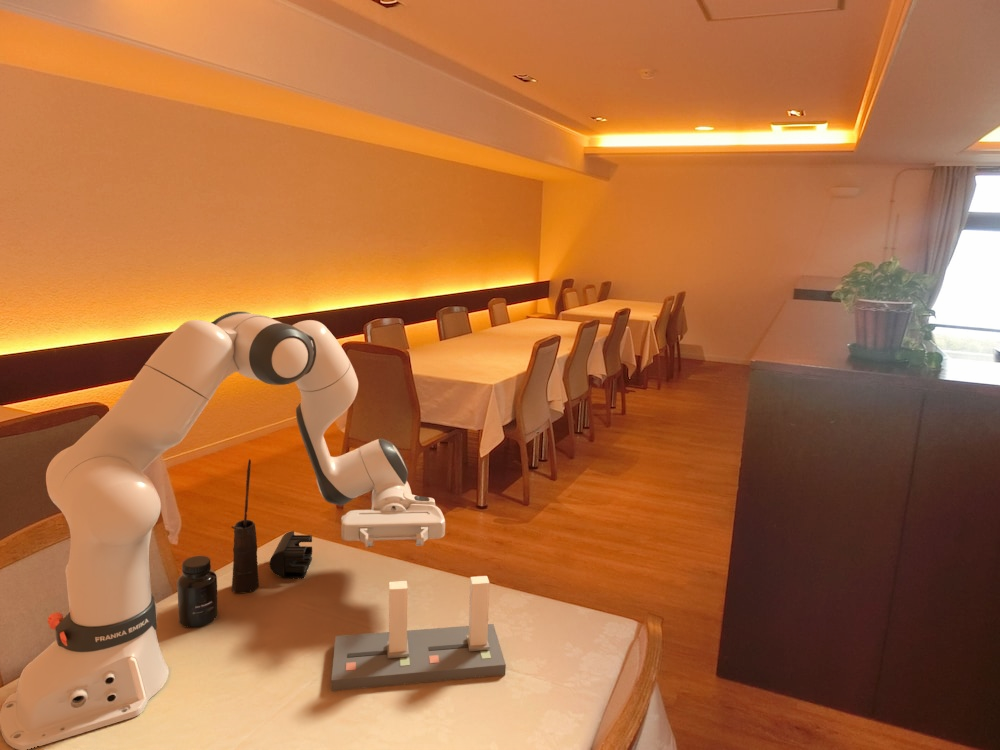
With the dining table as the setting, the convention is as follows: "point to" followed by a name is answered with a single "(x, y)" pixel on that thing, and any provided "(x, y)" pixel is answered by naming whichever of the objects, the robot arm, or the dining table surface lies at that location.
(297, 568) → the end cap
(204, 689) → the dining table surface
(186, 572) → the supplement bottle
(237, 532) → the butter churn
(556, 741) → the dining table surface
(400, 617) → the breaker lever
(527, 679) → the dining table surface
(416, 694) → the dining table surface
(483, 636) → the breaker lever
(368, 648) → the breaker panel
